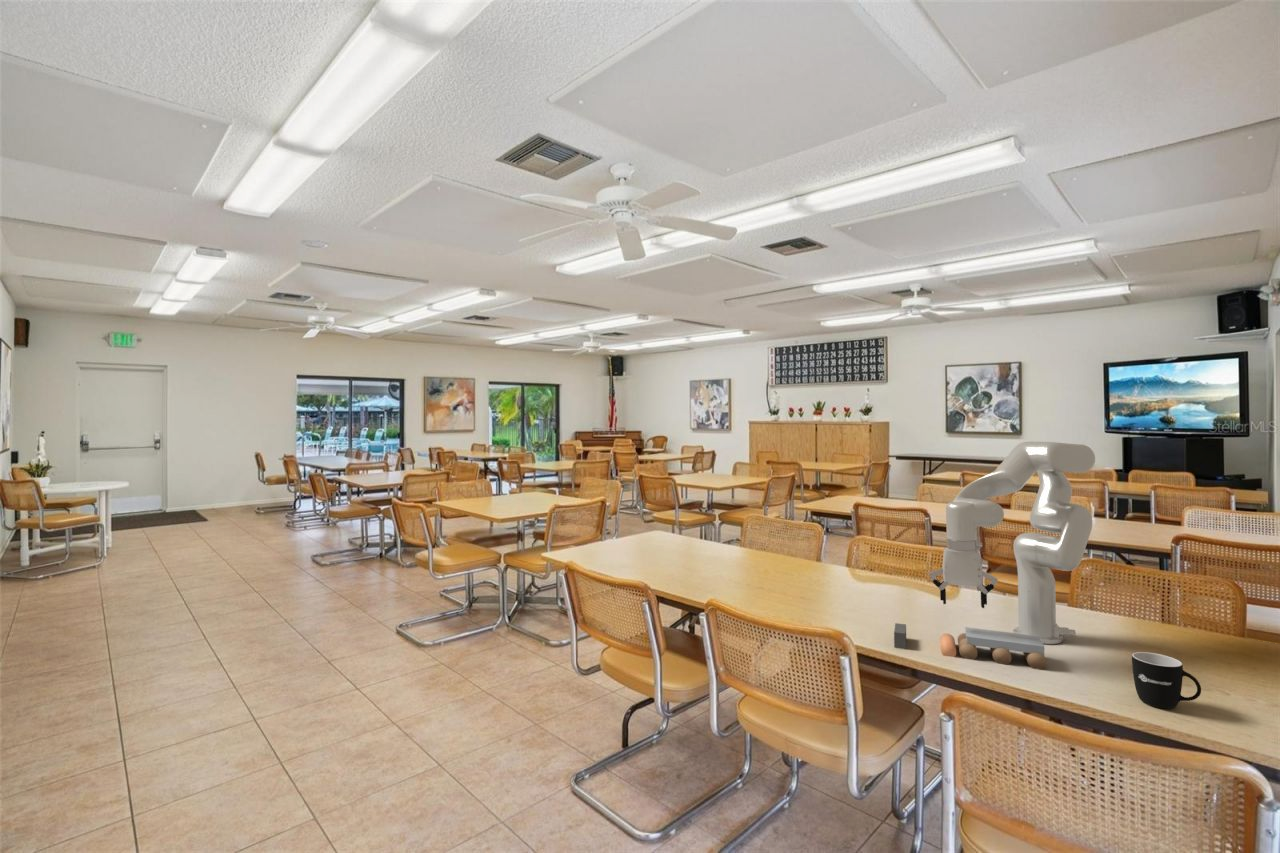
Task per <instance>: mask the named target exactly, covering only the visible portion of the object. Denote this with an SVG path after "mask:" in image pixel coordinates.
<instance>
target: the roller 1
mask: <svg viewBox="0 0 1280 853" xmlns="http://www.w3.org/2000/svg"><path fill="white" fill-rule="evenodd" d="M939 640H940V641H939V642H940V652H941V654H942V656H946V657H951V658H952V657H953V658H954V657H956V656H957V647H956V640H955V637H954V636H953V635H952V634H950V633H943V634H941V636H940V639H939Z"/></svg>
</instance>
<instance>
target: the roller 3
mask: <svg viewBox="0 0 1280 853" xmlns="http://www.w3.org/2000/svg"><path fill="white" fill-rule="evenodd" d="M1022 653H1023V655H1024V657H1025V661H1026V662H1027V664H1028V666H1029V667H1031V668H1032V669H1033V670H1039V671H1040V670H1043V669H1045V668H1046V667H1047V665H1048V661H1047V659H1046V657H1045V654H1044V655H1042V654H1040V653H1036V652H1034V653H1027V652H1022Z"/></svg>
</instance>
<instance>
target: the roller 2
mask: <svg viewBox="0 0 1280 853" xmlns="http://www.w3.org/2000/svg"><path fill="white" fill-rule="evenodd" d="M957 643H958V644H957V645H958V651H959V655H960V656H961V658H963V659H965V660H973V661H974V660H976V659H977V657H978V649H977V646H974V645H971V644H967V640H966V635H965V632H963V633H960V634H959V635H958V636H957Z"/></svg>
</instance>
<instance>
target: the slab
mask: <svg viewBox="0 0 1280 853" xmlns="http://www.w3.org/2000/svg"><path fill="white" fill-rule="evenodd" d="M964 629H965V630H964V633H965V635H966V640H967V644H971V645H974V646H976V647H982V648H989V649H990V648H1004V649H1006V650H1009V651H1012V652H1013V651H1014V652H1021V653H1023V652H1027V653H1034V652H1036V653H1040V654H1042V655H1044V656H1045V644H1043V643H1042V641H1041V640H1040V638H1039V636H1034V635H1026V634H1018V633H1013V632H1011V631H1010V632H1009V631H1001V630H992V629H984V628H976V627H967V626H965V627H964Z"/></svg>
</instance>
